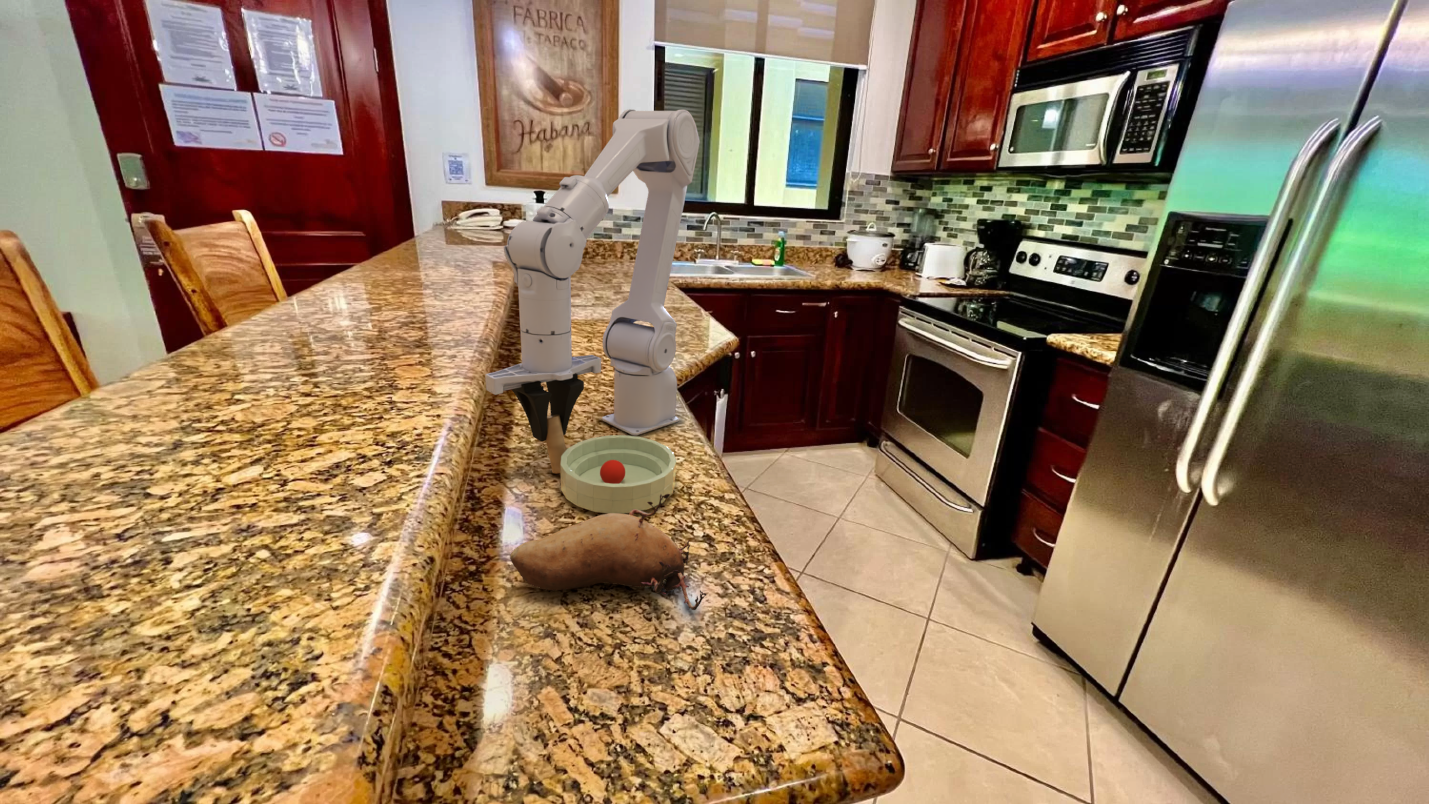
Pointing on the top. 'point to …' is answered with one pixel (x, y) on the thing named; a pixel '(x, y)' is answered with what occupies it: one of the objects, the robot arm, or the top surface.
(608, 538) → the vegetable
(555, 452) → the stick
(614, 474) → the ball
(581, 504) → the bowl
